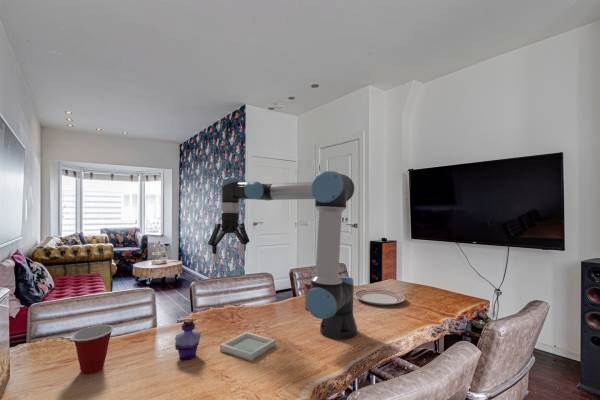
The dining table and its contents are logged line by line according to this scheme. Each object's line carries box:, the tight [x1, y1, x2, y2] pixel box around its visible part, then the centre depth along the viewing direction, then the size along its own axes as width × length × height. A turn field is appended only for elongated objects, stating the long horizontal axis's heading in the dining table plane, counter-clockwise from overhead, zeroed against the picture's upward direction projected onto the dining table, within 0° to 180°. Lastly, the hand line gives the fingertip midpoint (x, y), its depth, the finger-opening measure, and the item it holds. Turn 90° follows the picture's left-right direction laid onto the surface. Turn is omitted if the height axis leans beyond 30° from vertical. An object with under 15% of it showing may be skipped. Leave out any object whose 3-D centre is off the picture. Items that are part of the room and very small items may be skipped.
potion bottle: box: [174, 319, 202, 361], centre depth 108 cm, size 9×9×12 cm
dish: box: [219, 331, 277, 362], centre depth 115 cm, size 14×14×2 cm
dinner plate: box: [354, 288, 406, 306], centre depth 179 cm, size 28×27×3 cm
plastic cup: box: [70, 324, 114, 376], centre depth 98 cm, size 11×11×12 cm
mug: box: [303, 280, 311, 312], centre depth 163 cm, size 13×9×14 cm
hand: (229, 259), depth 143 cm, fingers open, 13 cm apart
